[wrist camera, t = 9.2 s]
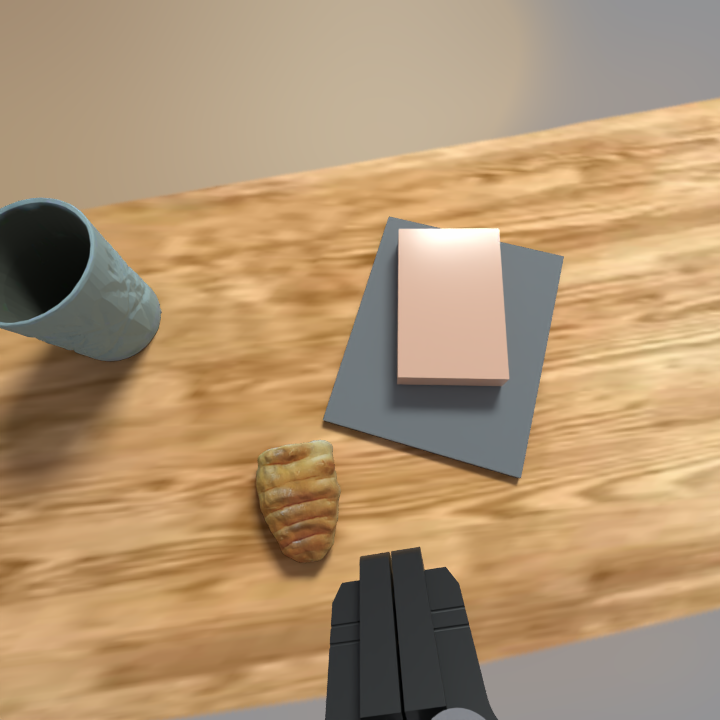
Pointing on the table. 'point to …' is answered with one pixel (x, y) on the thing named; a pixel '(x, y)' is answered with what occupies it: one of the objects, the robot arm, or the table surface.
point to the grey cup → (70, 283)
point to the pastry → (300, 498)
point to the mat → (448, 402)
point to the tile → (450, 308)
